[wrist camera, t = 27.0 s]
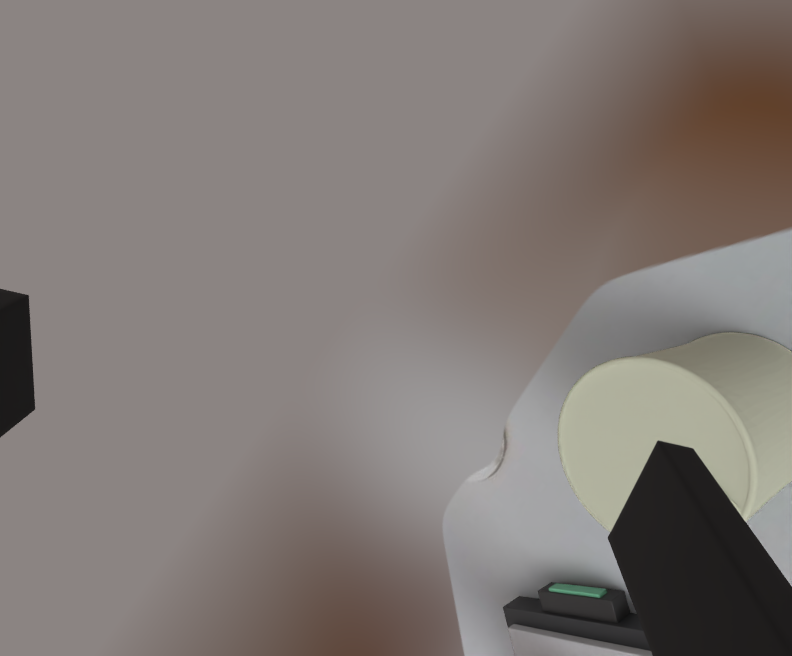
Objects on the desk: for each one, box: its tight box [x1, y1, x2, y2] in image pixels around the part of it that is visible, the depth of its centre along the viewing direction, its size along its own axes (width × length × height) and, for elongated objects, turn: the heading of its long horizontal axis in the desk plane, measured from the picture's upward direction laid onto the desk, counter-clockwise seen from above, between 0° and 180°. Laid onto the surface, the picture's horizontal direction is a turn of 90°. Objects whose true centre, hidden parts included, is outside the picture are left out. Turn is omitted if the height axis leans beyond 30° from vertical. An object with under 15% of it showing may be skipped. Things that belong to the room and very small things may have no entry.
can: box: [558, 332, 792, 532], centre depth 29 cm, size 9×9×12 cm
